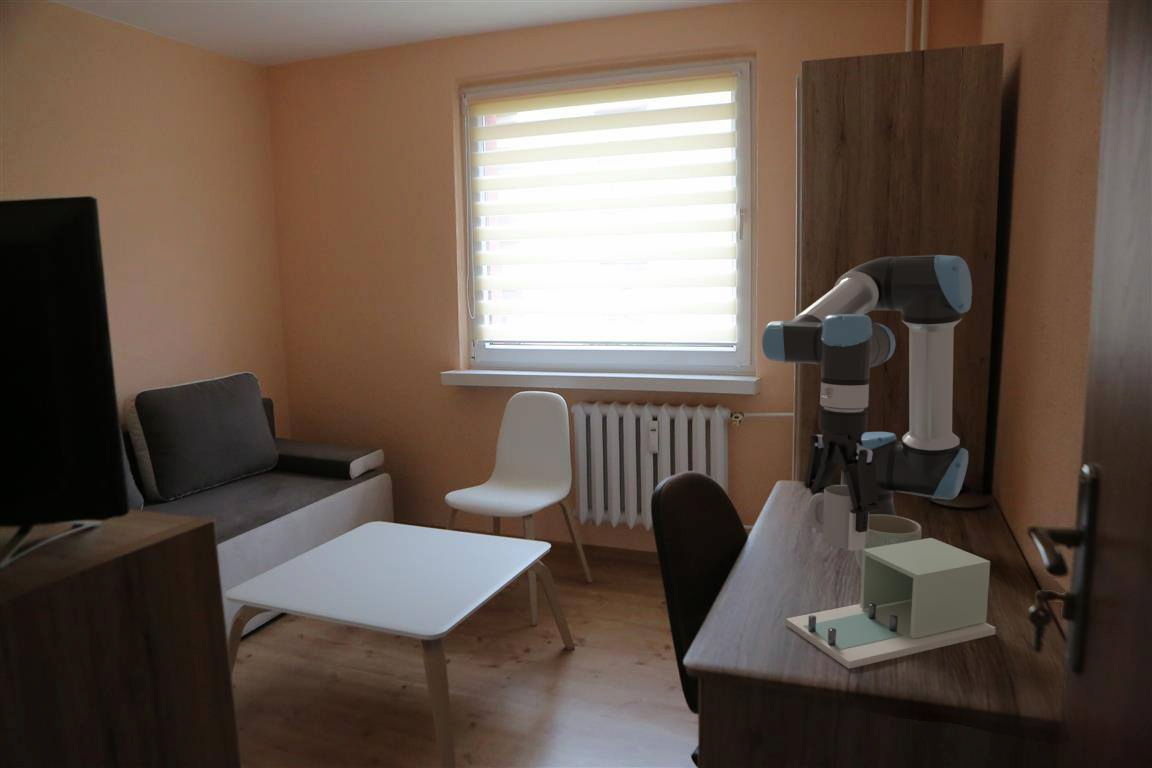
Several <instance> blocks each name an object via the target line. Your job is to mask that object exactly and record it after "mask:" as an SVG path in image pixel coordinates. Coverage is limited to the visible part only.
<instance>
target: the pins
mask: <svg viewBox="0 0 1152 768" xmlns="http://www.w3.org/2000/svg"><path fill="white" fill-rule="evenodd" d="M868 618H869V619H876V604H873V603H870V604H869V611H868ZM897 623H898V617H897V616H895V615H890V626H889V630H890V631H892V632H897ZM808 631H809V632H811V633H813V632H815V631H816V616H813V615H810V616H809V621H808ZM828 645H830V646H834V645H836V629H834V628H829V629H828Z"/></svg>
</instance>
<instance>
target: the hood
mask: <svg viewBox="0 0 1152 768" xmlns="http://www.w3.org/2000/svg"><path fill="white" fill-rule="evenodd" d="M860 570H861V569H860ZM990 570H991V561H990V560H989V559H985V558H983V557H980V556H979V555H975V554H973V553H970V552H968V551H965V550H963V549H961V548H958V547H955V546H953V545H951V544H948V543H946V542H943V541H940V540H939V539H935V538H934V537H933V538H932V537H928V538H921V540H915V541H909V542H903V543H897V544H892V545H886V546H880V547H874V548H868V549H862V570H861V571H860V573H861V574H860V575H861V577H860V597H859V598H860V599H859V604H860V608H862V609H866V608H869V604H870V603H873V604H876V606H881V605H886V604H891V603H896V602H901V601H906V600H911V599H912V611H911V630H910V636H911V637H912V638H918V637H922V636H926V635H931V634H935V633H940V632H944V631H948V630H953V629H957V628H962V627H966V626H970V625H975V624H979V623H984V622H985V623H987V616H988V615H987V613H988V600H989V585H990V584H989V583H990V573H991V571H990Z"/></svg>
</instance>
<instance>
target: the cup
mask: <svg viewBox="0 0 1152 768" xmlns="http://www.w3.org/2000/svg"><path fill="white" fill-rule="evenodd" d="M820 502H824V507H823V522H821V521H819V519H818V516H817V508H818V505H819V503H820ZM860 505H861V502H860ZM850 510H853V505H852V501H851V497H850V493H849V489H848V485H841V484H834V485H829V486H828V487H825V488H824V493H817V494H815V495H814V496H813V495H812V496H811V497H810V499H809V502H808V505H807V516H808V517H807V518H808V520H809V522H810V525H811V526H812V528H813V527H814V528H815V529H817V530H819V531H823V533H822V540H823V542H824V543H825V544H826V545H829V546H830V547H833V548H838V549H843V550H848V538H849V515H850ZM868 525H869V513H868ZM868 525H867V526H868ZM867 542H868V529H867V531H866V532H865V546H866V544H867Z"/></svg>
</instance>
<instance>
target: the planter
mask: <svg viewBox="0 0 1152 768" xmlns="http://www.w3.org/2000/svg"><path fill="white" fill-rule="evenodd" d="M921 539H922V526H921V524H920V523H919V522H916V521H915V520H913V519H909V518H906V517H903V516H898V515H897V516H893V515H884V514H871V515H869V525H868V542H867V544H866V546H865V549H868V548H874V547H880V546H886V545H892V544H897V543H903V542H909V541H915V540H921ZM855 558H856V559H855V560H856V564H857V565H858V568H859V569H860V570H862V550H855Z"/></svg>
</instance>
